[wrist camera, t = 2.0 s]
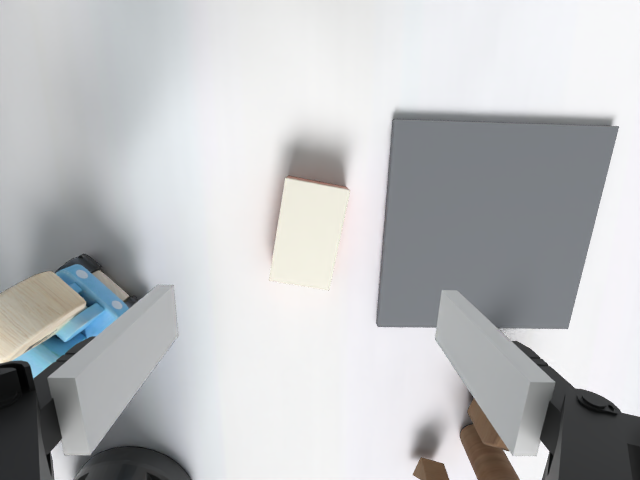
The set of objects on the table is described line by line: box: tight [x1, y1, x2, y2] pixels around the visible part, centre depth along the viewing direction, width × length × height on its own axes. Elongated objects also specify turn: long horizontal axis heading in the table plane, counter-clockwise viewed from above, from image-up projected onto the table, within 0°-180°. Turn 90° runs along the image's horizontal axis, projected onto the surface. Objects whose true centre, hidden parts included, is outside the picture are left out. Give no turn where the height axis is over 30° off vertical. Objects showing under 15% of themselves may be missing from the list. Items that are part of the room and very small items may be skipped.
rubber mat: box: [376, 119, 619, 329], centre depth 34 cm, size 22×22×1 cm
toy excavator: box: [0, 254, 139, 378], centre depth 26 cm, size 9×17×17 cm, turn 131°
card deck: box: [269, 176, 350, 291], centre depth 32 cm, size 6×10×4 cm, turn 169°
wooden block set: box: [413, 398, 520, 480], centre depth 35 cm, size 18×9×10 cm, turn 164°
